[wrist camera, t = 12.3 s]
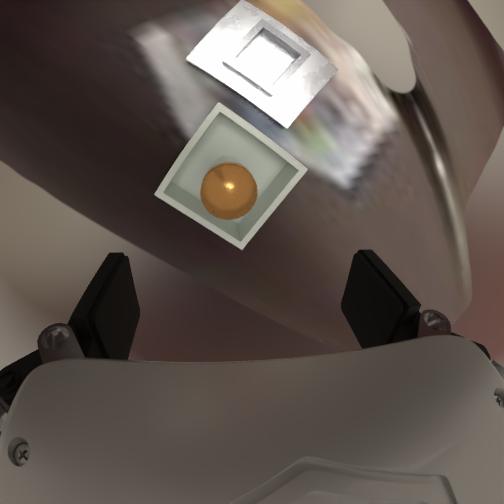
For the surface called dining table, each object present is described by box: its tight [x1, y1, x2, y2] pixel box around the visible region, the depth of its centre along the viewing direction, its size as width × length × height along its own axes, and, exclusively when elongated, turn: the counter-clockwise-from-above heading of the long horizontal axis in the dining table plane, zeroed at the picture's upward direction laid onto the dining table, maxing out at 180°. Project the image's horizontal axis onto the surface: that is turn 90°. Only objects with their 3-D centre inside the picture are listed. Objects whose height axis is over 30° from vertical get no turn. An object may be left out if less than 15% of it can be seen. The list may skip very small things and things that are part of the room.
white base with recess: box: [186, 0, 338, 129], centre depth 24 cm, size 14×10×4 cm
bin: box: [154, 102, 308, 250], centre depth 29 cm, size 11×11×6 cm
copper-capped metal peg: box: [200, 156, 258, 220], centre depth 27 cm, size 5×5×10 cm
